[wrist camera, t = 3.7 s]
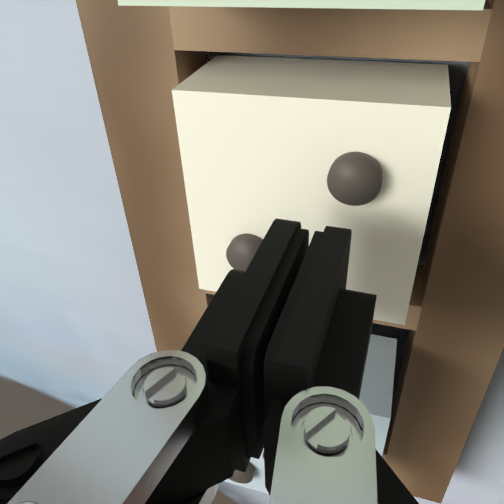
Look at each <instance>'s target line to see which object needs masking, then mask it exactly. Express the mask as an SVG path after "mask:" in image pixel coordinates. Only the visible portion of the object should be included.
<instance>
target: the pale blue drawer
mask: <svg viewBox="0 0 504 504" xmlns="http://www.w3.org/2000/svg"><path fill="white" fill-rule="evenodd" d="M396 347H397V339H395V338H389V337H384V336H378V335H373V334H371V335H370V341H369V347H368V353H367V358H366V364H365V369H364V375H363V380H362V386H361V391H360V397H359V400H360V401H361V402H362V403H363V404H364V405H365V406H366V408H367V410H368V411H369V413H370V415H371V416H372V419H373V424H374V429H375V448H376V450H377V451H378V452H379V454H380V455H381V456H382V454H383V450H384V445H385V441H386V437H387V432H388V428H389V423H390V419H391V407H392V395H393V383H394V371H395V359H396ZM225 482H229V483H232V484H236V485H239V486H243V487H246V488H250V489H253V490H257V491H261V492H264V493H268V491H267V489H266V487H265V468H264V449H263V451H262V454H261V456H260V458H259V459H256V458H252V457H251V458H250V461H249V464H248V467H247V469H246V472H241V471H238V470H235V471H234V474H233V477H231V478H229V479H227V480H225ZM268 494H269V493H268Z"/></svg>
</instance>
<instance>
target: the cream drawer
mask: <svg viewBox="0 0 504 504" xmlns="http://www.w3.org/2000/svg"><path fill="white" fill-rule="evenodd" d="M172 96H173V103H174V110H175V118H176V125H177V132H178V139H179V147H180V154H181V161H182V168H183V175H184V183H185V190H186V197H187V204H188V212H189V219H190V226H191V233H192V240H193V248H194V255H195V262H196V269H197V277H198V284H199V289H203V290H209V291H214V292H217V290H218V288H219V287H220V285H221V283H222V282H223V280H224V278H225V277H226V275H227V274H228V272H229V271H230V270H232V269H236V270H241V271H246V270H247V268H248V266H249V264H250V262H251V261H252V259H253V257H254V255H255V253H256V252H257V250H258V248H259V246H260V244H261V243H262V241H263V239H264V237H265V235H266V234H267V232H268V230H269V228H270V226H271V225H272V223H273V221H274V220H275V219H276V218H277V219H284V220H291V221H298V222H300V223H301V229H307V230H309V245H310V242H311V240H312V237H313V235H314V232H315V231H321V232H324V229H325V227H326V226H332V227H339V228H346V229H351V230H352V235H351V245H350V254H349V264H348V273H347V283H346V289H347V290H352V291H358V292H363V293H369V294H374V295H377V297H376V304H375V310H374V317H373V320H379V321H384V322H390V323H396V324H401V325H405V321H406V316H407V312H408V307H409V302H410V298H411V293H412V288H413V284H414V279H415V274H416V270H417V265H418V260H419V255H420V251H421V246H422V241H423V237H424V232H425V227H426V223H427V218H428V213H429V209H430V204H431V199H432V195H433V190H434V185H435V181H436V176H437V171H438V167H439V162H440V157H441V153H442V148H443V143H444V139H445V134H446V129H447V125H448V120H449V115H450V111H451V99H450V86H449V73H448V64H423V63H399V62H374V61H350V60H325V59H301V58H277V57H252V56H228V55H217V56H215V57H214V58H213V59H211V60H210V61H209V62H208V63H206V64H205V65H204V66H202V67H201V68H200V69H198V70H197V71H196V72H194V73H193V74H192V75H191V76H189V77H188V78H187V79H185V80H184V81H183V82H181V83H180V84H179V85H177V86H176V87H175V88H174V89H172Z"/></svg>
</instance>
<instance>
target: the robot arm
mask: <svg viewBox="0 0 504 504" xmlns="http://www.w3.org/2000/svg"><path fill="white" fill-rule="evenodd" d="M351 235H352V230H351V229H346V228H339V227H332V226H326V227H325V229H324V232H321V231H315V232H314V235H313V237H312V240H311V242H310V245H309V230H307V229H301V223H300V222H298V221H291V220H284V219H277V218H276V219H275V220H274V221H273V223H272V225H271V226H270V228H269V230H268V232H267V234H266V235H265V237H264V239H263V241H262V243H261V244H260V246H259V248H258V250H257V252H256V253H255V255H254V257H253V259H252V261H251V262H250V264H249V266H248V268H247V270H246V271H241V270H236V269H232V270H230V271H229V272H228V274H227V275H226V277H225V278H224V280H223V282H222V283H221V285H220V287H219V288H218V290H217V292H216V293H215V295H214V297H213V298H212V300H211V302H210V303H209V305H208V307H207V308H206V310H205V312H204V313H203V315H202V317H201V318H200V320H199V322H198V323H197V325H196V327H195V328H194V330H193V332H192V333H191V335H190V337H189V338H188V340H187V342H186V343H185V345H184V347H183V348H182V350H181V351H178V350H163V351H159V352H155V353H151V354H149V355H147V356H145V357H143V358H141V359H140V360H139V361H137V362H136V363H135V364H134V365H133V366H132V367H131V368H130V369H129V370H128V371H127V372H126V373H125V374H124V375H123V376H122V377H121V379H120V380H119V381H118V382H117V383H116V384H115V385H114V386H113V387H112V389H111V390H110V391H109V392H108V393H107V394H106V395H105V396H104V397H103V398H102V399H99V400H97V401H94V402H91V403H89V404H86V405H84V406H81V407H79V408H76V409H74V410H71V411H69V412H66V413H63V414H61V415H58V416H55V417H53V418H50V419H48V420H45V421H43V422H40V423H37V424H35V425H33V426H30V427H27V428H24V429H22V430H20V431H17V432H14V433H13V434H11V435H9V436H7V437H5V438H3V439H0V504H210V503H211V502H212V500H213V498H214V497H215V494H216V492H217V489H218V486H219V483H221V482H223V481H225V480H227V479H229V478H231V477H233V474H234V471H235V470H238V471H241V472H246V469H247V467H248V464H249V461H250V458H251V457H252V458H256V459H259V458H260V456H261V454H262V451H263V449H264V468H265V487H266V489H267V491H268V493H269V495H270V500H269V504H419V503H418V502H417V501H416V499H415V498H414V497H413V496H412V494H411V493H410V492H409V491H408V489H407V488H406V487H405V485H404V484H403V483H402V482H401V480H400V479H399V478H398V477H397V475H396V474H395V473H394V471H393V470H392V469H391V468H390V466H389V465H388V464H387V463H386V461H385V460H384V459H383V457H382V456H381V455H380V454H379V452H378V451H377V450H376V448H375V429H374V424H373V419H372V416H371V415H370V413H369V411H368V410H367V408H366V406H365V405H364V404H363V403H362V402H361V401H360V400H359V397H360V391H361V386H362V380H363V375H364V369H365V364H366V358H367V353H368V347H369V341H370V335H371V329H372V323H373V317H374V310H375V304H376V297H377V295H374V294H369V293H363V292H358V291H352V290H347V289H346V283H347V273H348V264H349V254H350V245H351Z"/></svg>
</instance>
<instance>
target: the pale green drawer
mask: <svg viewBox="0 0 504 504" xmlns="http://www.w3.org/2000/svg"><path fill="white" fill-rule="evenodd" d="M484 4H485V0H118V6H191V7H266V8H342V9H417V10H483V8H484Z"/></svg>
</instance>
